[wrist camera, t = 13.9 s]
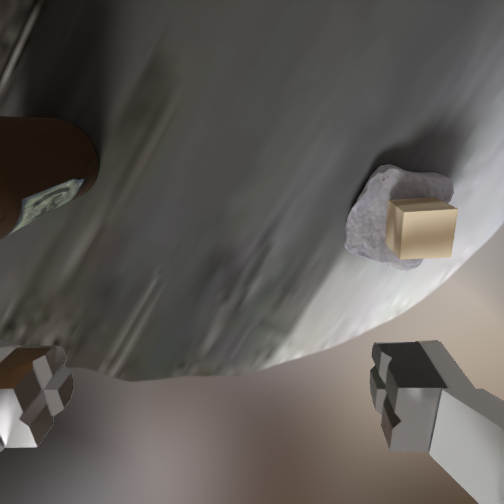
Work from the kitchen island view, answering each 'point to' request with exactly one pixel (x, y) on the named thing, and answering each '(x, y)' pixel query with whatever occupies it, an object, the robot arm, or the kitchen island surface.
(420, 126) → the kitchen island surface
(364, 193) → the stone block
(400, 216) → the maple block
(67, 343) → the kitchen island surface
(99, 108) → the kitchen island surface
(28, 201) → the olive oil
